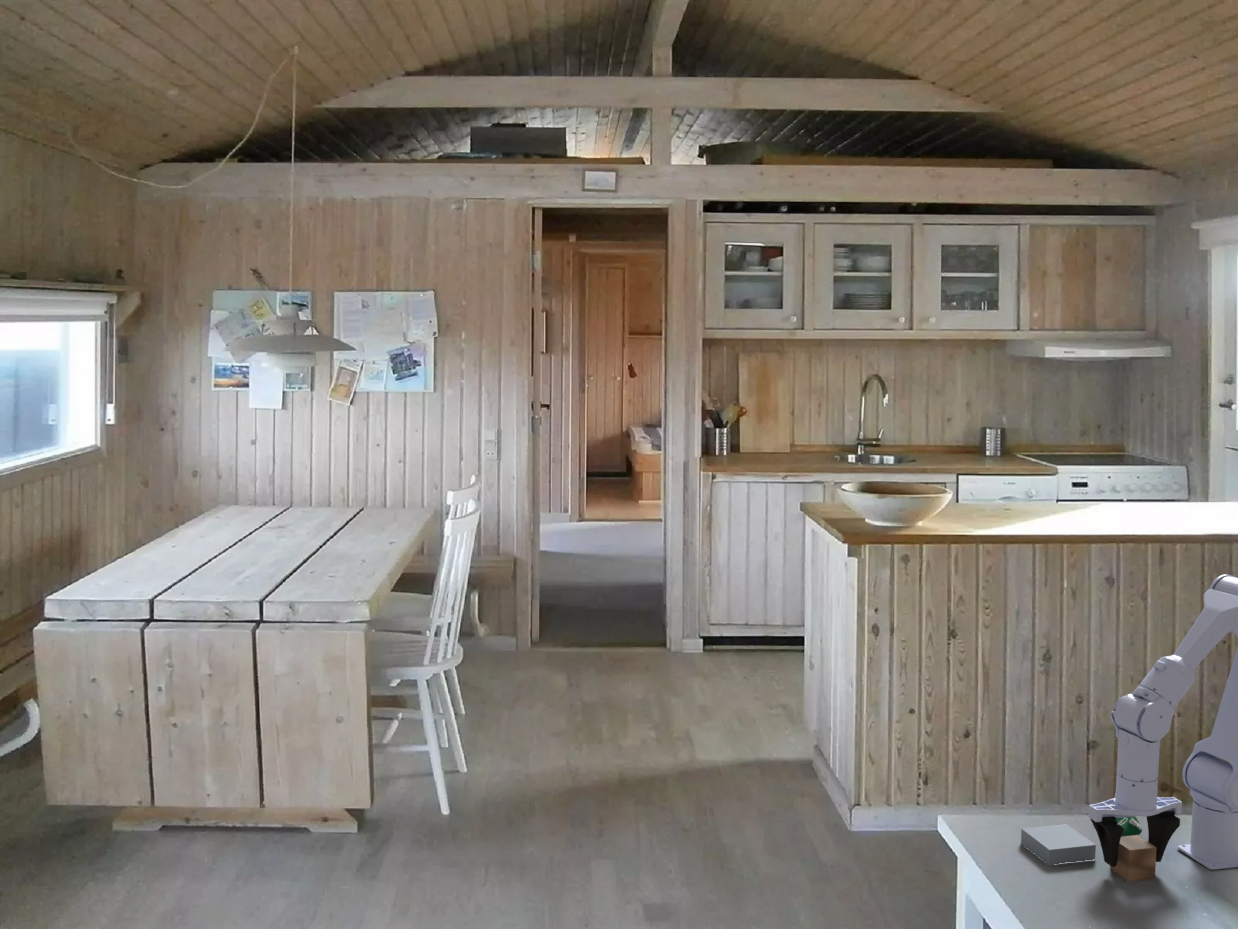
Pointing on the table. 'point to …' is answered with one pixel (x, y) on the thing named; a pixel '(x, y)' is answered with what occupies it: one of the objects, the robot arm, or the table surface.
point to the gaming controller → (1129, 826)
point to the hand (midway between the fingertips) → (1132, 861)
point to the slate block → (1058, 844)
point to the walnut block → (1135, 859)
